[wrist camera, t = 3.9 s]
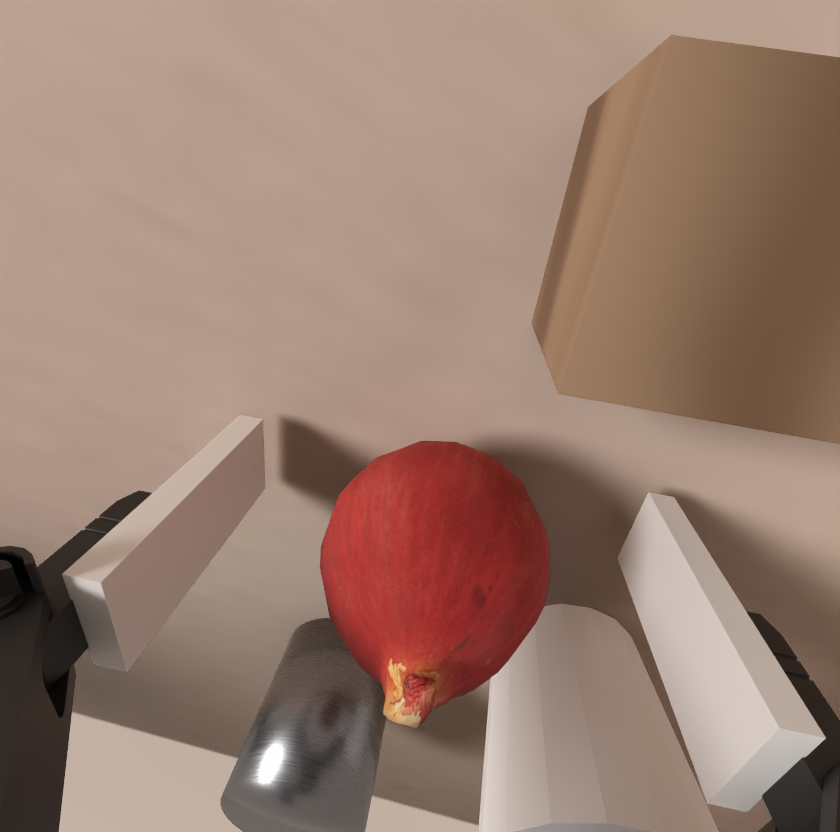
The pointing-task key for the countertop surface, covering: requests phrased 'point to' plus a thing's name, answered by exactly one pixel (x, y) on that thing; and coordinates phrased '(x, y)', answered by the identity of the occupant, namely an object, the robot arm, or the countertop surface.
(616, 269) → the walnut block
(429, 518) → the onion
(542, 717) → the white short cylinder
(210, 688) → the countertop surface
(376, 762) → the metal tin
